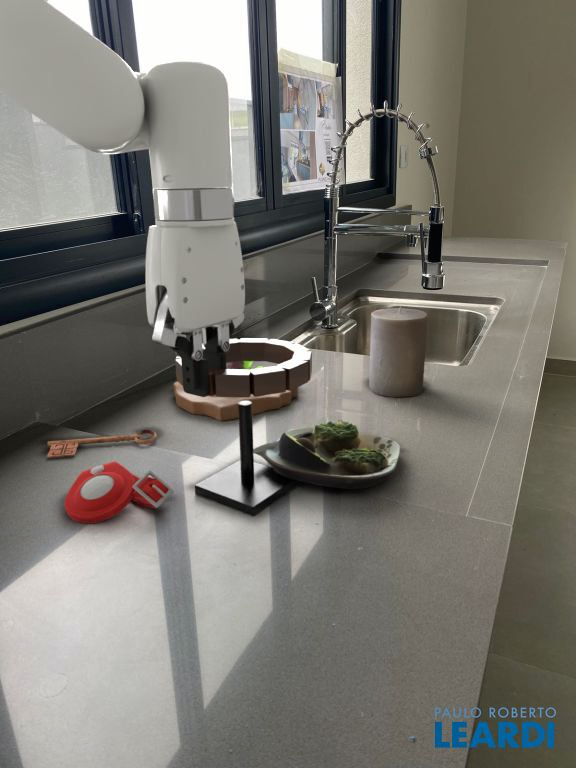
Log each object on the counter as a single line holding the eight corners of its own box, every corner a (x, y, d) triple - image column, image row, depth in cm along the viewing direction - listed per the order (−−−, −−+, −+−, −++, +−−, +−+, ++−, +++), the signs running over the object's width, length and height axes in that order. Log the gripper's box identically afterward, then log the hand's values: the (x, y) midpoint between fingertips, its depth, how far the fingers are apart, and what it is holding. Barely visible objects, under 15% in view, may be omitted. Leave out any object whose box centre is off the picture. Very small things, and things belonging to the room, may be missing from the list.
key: (43, 460, 82) (155, 451, 84) (42, 455, 82) (155, 445, 84) (51, 440, 87) (157, 432, 89) (50, 434, 87) (156, 426, 89)
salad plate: (292, 425, 92) (293, 396, 91) (410, 443, 86) (413, 412, 85) (241, 472, 74) (242, 437, 73) (386, 498, 69) (389, 460, 67)
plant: (153, 397, 105) (147, 334, 101) (240, 373, 118) (238, 316, 114) (224, 429, 91) (221, 357, 88) (314, 397, 104) (314, 334, 100)
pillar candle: (433, 388, 108) (439, 305, 103) (403, 402, 102) (408, 314, 97) (388, 376, 115) (392, 298, 110) (357, 389, 108) (359, 306, 103)
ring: (150, 381, 67) (148, 360, 66) (237, 350, 79) (236, 332, 78) (255, 407, 59) (254, 384, 58) (336, 369, 70) (336, 349, 69)
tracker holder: (59, 524, 64) (60, 465, 72) (74, 551, 67) (74, 491, 75) (170, 486, 66) (159, 433, 74) (181, 514, 68) (169, 459, 76)
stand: (195, 494, 72) (189, 406, 69) (243, 466, 79) (240, 385, 76) (253, 516, 67) (250, 423, 64) (299, 485, 74) (299, 399, 71)
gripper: (220, 205, 66) (228, 366, 72) (101, 212, 54) (122, 405, 60) (275, 206, 62) (279, 377, 68) (159, 214, 50) (176, 421, 55)
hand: (205, 389), depth 64 cm, fingers closed on ring, 2 cm apart
